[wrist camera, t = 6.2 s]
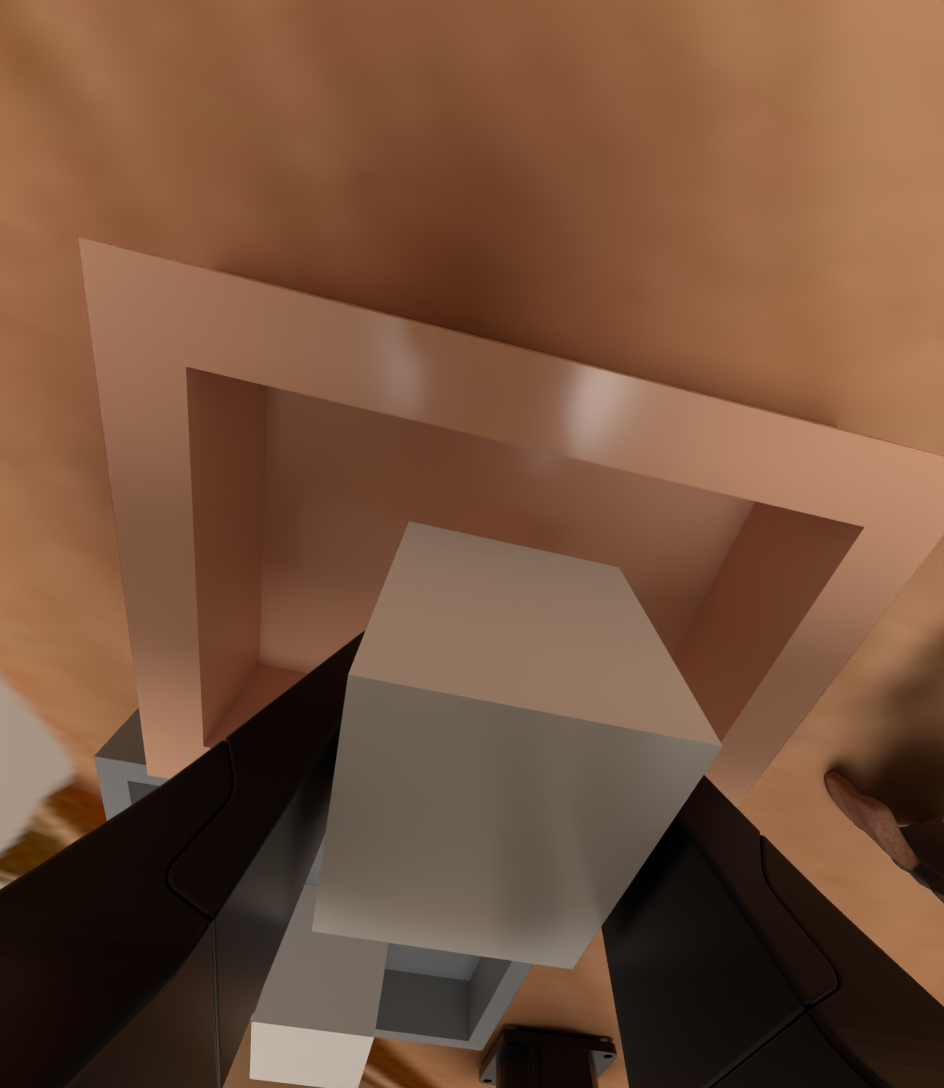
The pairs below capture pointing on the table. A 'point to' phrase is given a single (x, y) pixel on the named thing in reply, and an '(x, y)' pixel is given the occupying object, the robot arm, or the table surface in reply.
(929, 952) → the table surface
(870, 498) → the terracotta dish
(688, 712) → the cream rectangular block
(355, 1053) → the off-white rectangular prism
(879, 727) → the table surface
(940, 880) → the brown curved piece
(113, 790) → the parts tray
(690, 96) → the table surface
